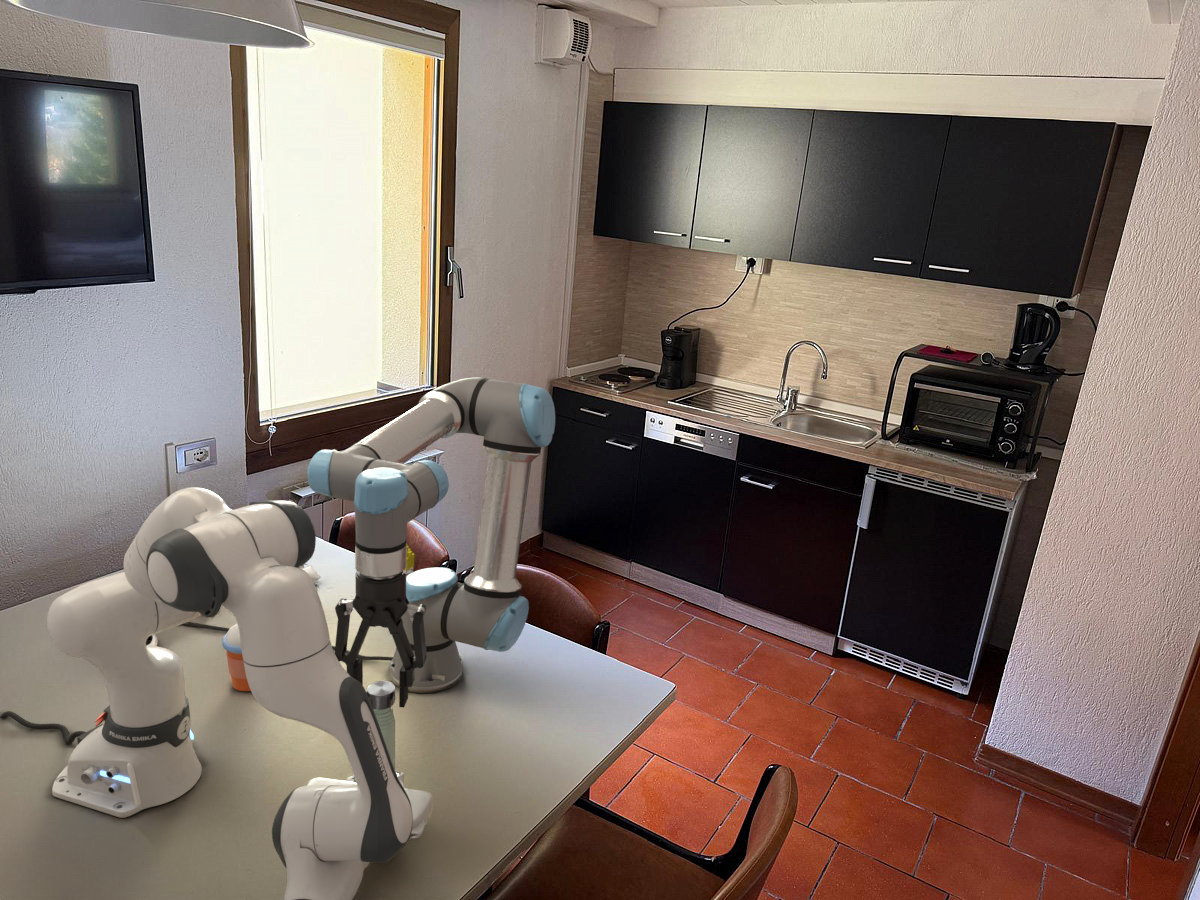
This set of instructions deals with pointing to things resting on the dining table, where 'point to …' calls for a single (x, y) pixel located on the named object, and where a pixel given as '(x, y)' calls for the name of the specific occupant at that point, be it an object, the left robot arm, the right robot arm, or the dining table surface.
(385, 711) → the bottle
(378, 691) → the cap
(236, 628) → the cup with straw
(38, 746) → the dining table surface
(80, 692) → the dining table surface
